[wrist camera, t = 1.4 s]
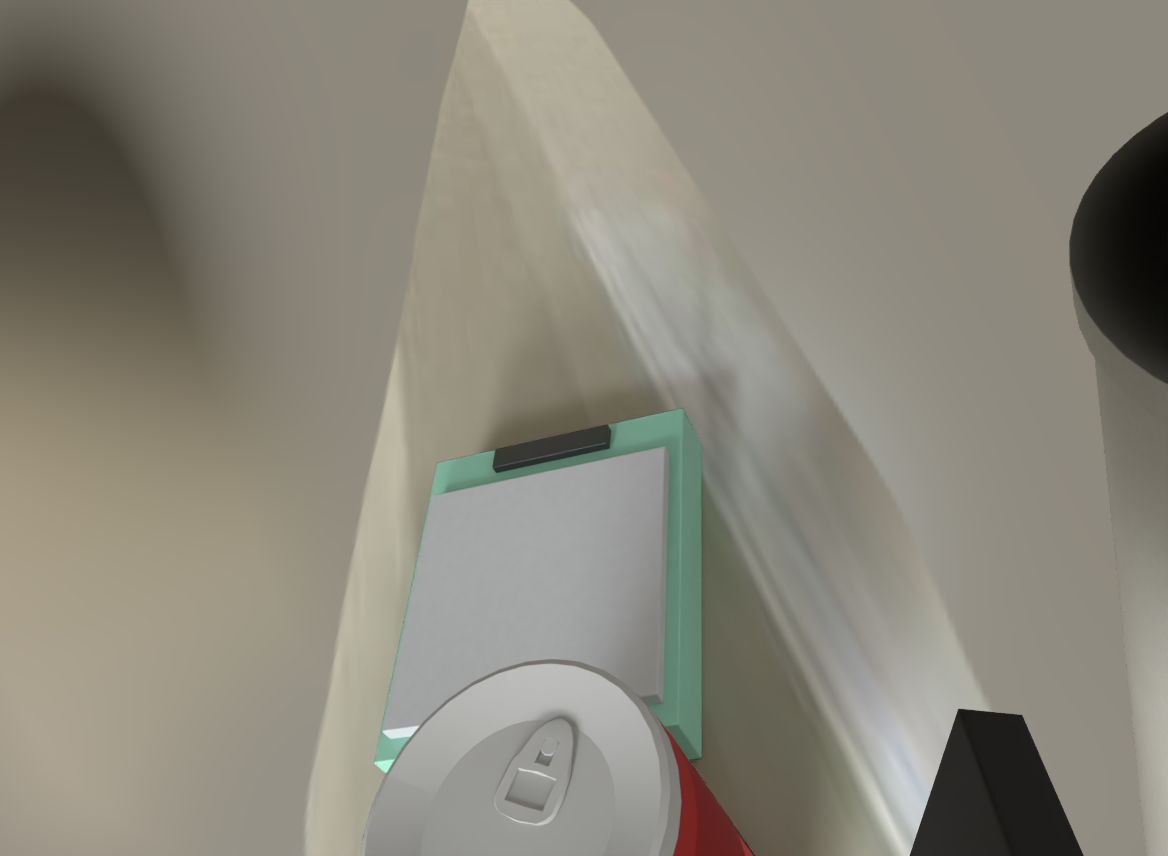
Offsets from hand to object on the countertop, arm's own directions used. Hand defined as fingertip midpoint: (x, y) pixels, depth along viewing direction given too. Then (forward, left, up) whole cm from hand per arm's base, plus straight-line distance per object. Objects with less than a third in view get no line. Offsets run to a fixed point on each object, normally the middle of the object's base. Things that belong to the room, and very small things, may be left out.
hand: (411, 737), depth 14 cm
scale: (+9, -17, -22) cm, 29 cm away
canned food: (+4, -4, -22) cm, 22 cm away
